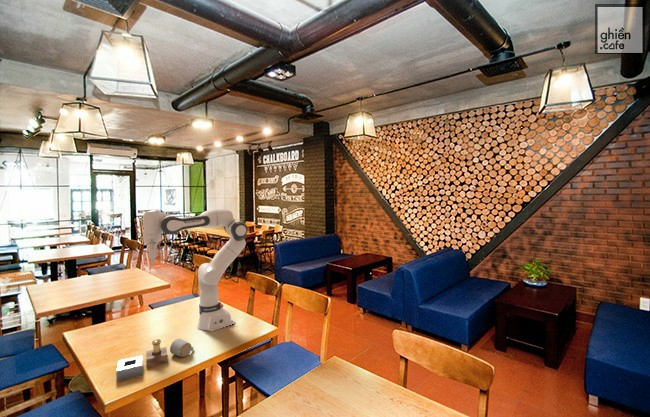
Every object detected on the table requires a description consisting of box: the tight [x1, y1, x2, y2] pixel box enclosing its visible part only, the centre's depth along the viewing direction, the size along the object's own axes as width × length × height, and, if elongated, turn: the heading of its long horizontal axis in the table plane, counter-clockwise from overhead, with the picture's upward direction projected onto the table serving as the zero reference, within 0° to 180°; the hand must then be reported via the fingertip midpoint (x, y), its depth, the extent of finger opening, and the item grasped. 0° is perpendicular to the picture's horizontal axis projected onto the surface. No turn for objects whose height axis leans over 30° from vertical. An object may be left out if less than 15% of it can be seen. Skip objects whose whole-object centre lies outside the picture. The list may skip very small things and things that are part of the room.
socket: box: [115, 355, 144, 383], centre depth 143 cm, size 10×10×5 cm
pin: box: [151, 338, 162, 356], centre depth 153 cm, size 4×4×10 cm
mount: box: [145, 346, 168, 368], centre depth 153 cm, size 9×9×4 cm
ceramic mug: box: [169, 338, 194, 358], centre depth 160 cm, size 11×8×8 cm
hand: (152, 262), depth 173 cm, fingers open, 8 cm apart
